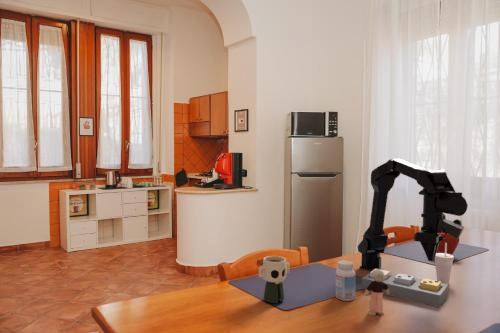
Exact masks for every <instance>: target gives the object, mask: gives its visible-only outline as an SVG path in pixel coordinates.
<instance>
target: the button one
mask: <svg viewBox="0 0 500 333" xmlns="http://www.w3.org/2000/svg"><path fill="white" fill-rule="evenodd" d="M374 270H376V269H374ZM374 270H373V271H374ZM379 270H381V271H382V272H383V273H384V277H383V279H382V280H387V279H388V278H390V273H391V271H389V270H386V269H385V270H384V269H381V268H380V269H379ZM373 271H372V270H370V272H369V273H370V277H372V272H373ZM372 278H373V277H372Z"/></svg>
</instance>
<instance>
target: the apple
mask: <svg viewBox="0 0 500 333" xmlns="http://www.w3.org/2000/svg"><path fill="white" fill-rule="evenodd" d="M439 234H441V236H443V237H445V239H443V240H442V241H441V242H440V243H439V246H438V249H437V252H436V253H445V243H447V254H450V255H454V253H455V251H456V249H457V247H458V245H459V243H460V237H459V238H455V237H453V236H452V235H450V234H448V235H445V233H439Z"/></svg>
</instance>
